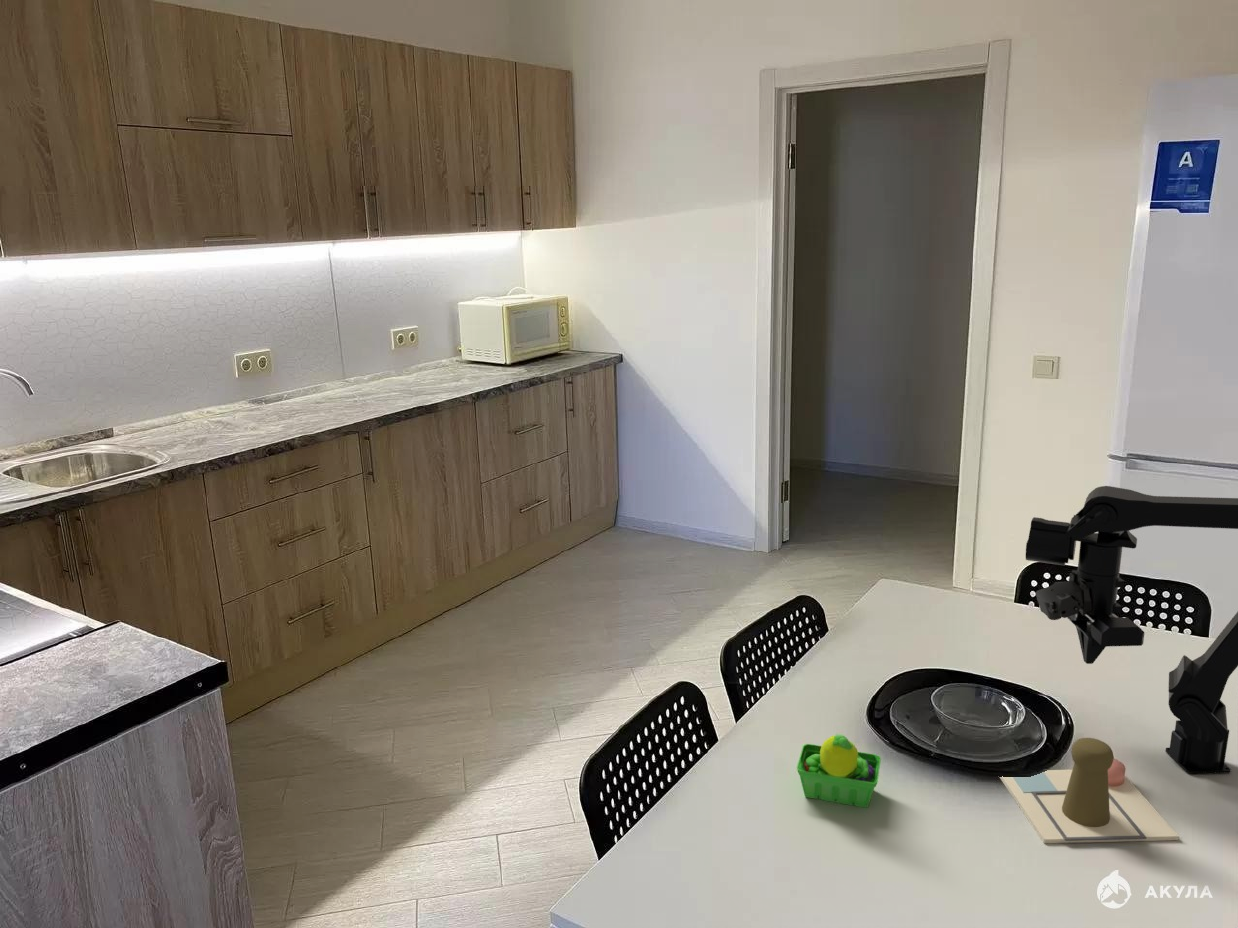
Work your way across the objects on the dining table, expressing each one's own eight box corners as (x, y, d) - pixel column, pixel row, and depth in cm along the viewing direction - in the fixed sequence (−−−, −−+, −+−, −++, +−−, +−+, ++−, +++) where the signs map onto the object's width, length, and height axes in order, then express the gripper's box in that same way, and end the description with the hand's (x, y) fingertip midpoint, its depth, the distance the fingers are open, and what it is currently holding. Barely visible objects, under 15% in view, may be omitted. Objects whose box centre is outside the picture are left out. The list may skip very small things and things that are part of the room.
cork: (1115, 828, 129) (1124, 757, 126) (1068, 824, 130) (1076, 753, 127) (1102, 802, 135) (1110, 733, 132) (1056, 798, 136) (1063, 730, 133)
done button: (1113, 766, 143) (1114, 754, 143) (1130, 785, 139) (1132, 773, 138) (1080, 767, 143) (1081, 755, 143) (1096, 786, 139) (1097, 774, 138)
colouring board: (1118, 771, 143) (1118, 766, 143) (1180, 841, 127) (1181, 836, 127) (998, 774, 143) (998, 769, 143) (1045, 845, 127) (1045, 839, 127)
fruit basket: (880, 784, 142) (883, 716, 139) (875, 820, 134) (878, 748, 131) (802, 772, 145) (804, 705, 142) (793, 805, 137) (795, 736, 134)
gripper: (1020, 549, 154) (1013, 638, 158) (1073, 594, 136) (1063, 693, 140) (1089, 548, 154) (1080, 636, 158) (1151, 592, 136) (1139, 691, 140)
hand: (1088, 662), depth 149 cm, fingers closed
